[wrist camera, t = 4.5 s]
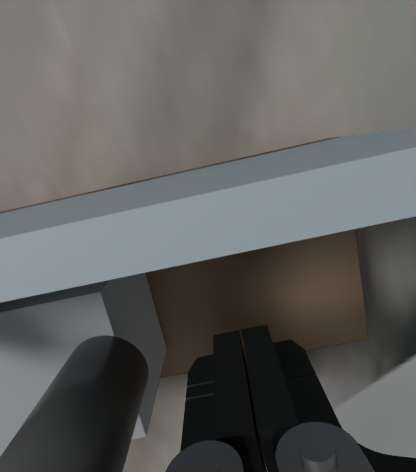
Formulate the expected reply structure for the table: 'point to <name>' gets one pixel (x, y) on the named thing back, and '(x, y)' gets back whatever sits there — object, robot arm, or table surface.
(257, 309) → the base
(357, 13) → the table surface
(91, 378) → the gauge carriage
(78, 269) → the board
